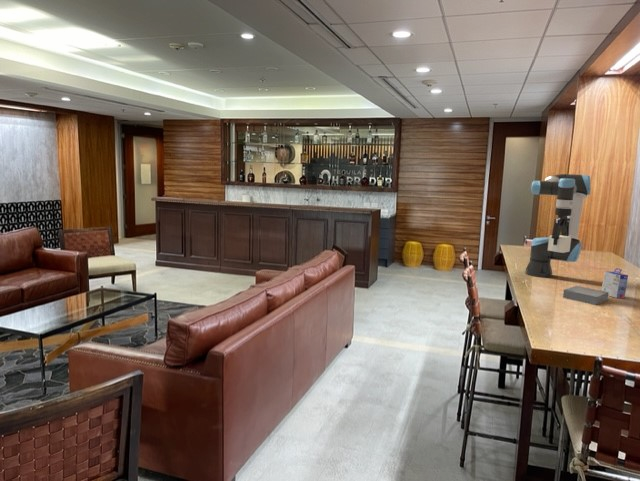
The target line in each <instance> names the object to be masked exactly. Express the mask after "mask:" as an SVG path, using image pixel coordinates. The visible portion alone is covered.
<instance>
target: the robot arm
mask: <svg viewBox="0 0 640 481" xmlns="http://www.w3.org/2000/svg"><path fill="white" fill-rule="evenodd" d="M530 192H531V194H532V195H541V196H542V195H545V196H557V197H556V201H555V212H554V214H555V216H557V218H555V219H554V222H553V228H552V234H551V235H552V238H553V247H552V251H548V242H549V236H548V237H546V236H545V237H541V236H540V237H534V238H533V239H532V240H531V245H530V246H531V247H530V254H529V255H530V256H529V261H528V264H527V266H526V268H525V274H526V275H527V276H528V275H529V276H532V277H533V276H534V277H539V278H552V277H553V270H552V269H553V268H552V264H551V263H552V262H551V261H552V260H553V261H561V262H567V263H569V262H570V263H575V262H577V261H578V259H579V258H580V255H581V251H582V247H583V244H582V243H581V242H580V241H581V240H580V239H579V238H578V237H579V230H580V222H581V218H582V211H583V205H584V200H585V199H587V197H588V195H591V176H590V175H589V174H574V173H572V174H569V173H567V174H566V173H558V174H554V175H550V176H547V177H546V178H545V179H544V180H533V181H532V182H531V187H530ZM560 235H562V236H569V237H571V244H570V252H565V253H561V252H558V247H559V236H560ZM554 251H557V252H554Z"/></svg>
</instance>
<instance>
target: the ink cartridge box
mask: <svg viewBox="0 0 640 481" xmlns="http://www.w3.org/2000/svg"><path fill="white" fill-rule="evenodd" d="M622 270H623V269H622V268H618V267H616V268H615V269H614V270H613V271H610V270H609V271H608V270H606V271H604V273H603V278H602V285H601V290H600V291H605V292H609V294H608V297H610V298H611V297H612V298H615V299H625V297H626V292H627V291H626V290H627V285H628V277H629V275H628V274H624V273H622Z"/></svg>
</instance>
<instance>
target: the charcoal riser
mask: <svg viewBox="0 0 640 481" xmlns="http://www.w3.org/2000/svg"><path fill="white" fill-rule="evenodd" d="M608 294H609V292H605V291H601V290H600V289H594V288H589V287H585V286H580V285H575V286H572V287H571V286H570V287H568V288H565V289H563V295H562V298H564V299H567V300H572V301H576V302H582V303H586V304H589V305H590V304H591V305H594V306H596V305H598V304H601V303H604V302H606V301H608V299H609V296H608Z"/></svg>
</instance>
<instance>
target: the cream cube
mask: <svg viewBox="0 0 640 481" xmlns="http://www.w3.org/2000/svg"><path fill="white" fill-rule="evenodd" d="M548 237H549V242H548V251H552V247H553V238H552V234H551V235H549V236H548ZM570 244H571V237H569V236H562V235H561V234H560V236H559V247H558V252H561V253H565V252H570ZM554 252H557V251H554Z"/></svg>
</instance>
